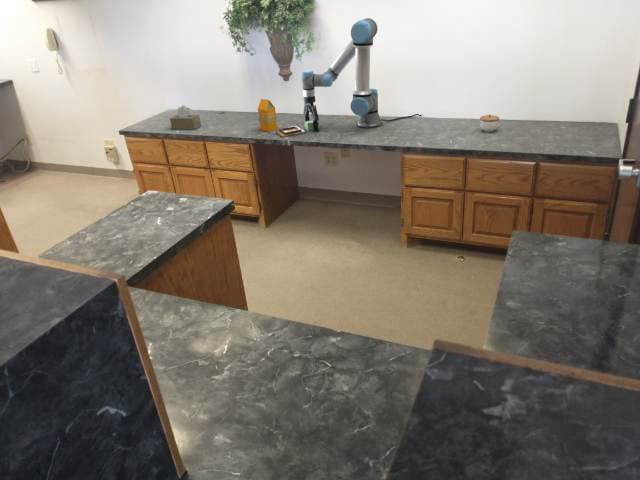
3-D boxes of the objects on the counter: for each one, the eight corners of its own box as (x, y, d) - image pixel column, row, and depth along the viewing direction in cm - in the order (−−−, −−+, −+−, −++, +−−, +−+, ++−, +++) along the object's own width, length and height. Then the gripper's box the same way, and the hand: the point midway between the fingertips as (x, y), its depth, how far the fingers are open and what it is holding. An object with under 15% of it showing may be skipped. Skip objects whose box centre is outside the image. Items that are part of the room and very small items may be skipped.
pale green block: (316, 126, 338) (315, 119, 336) (319, 128, 333) (319, 121, 331) (304, 129, 336) (304, 121, 333) (308, 131, 331) (307, 123, 328)
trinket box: (488, 134, 295) (489, 118, 291) (475, 130, 304) (476, 114, 299) (502, 130, 299) (503, 114, 295) (488, 126, 308) (490, 111, 304)
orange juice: (269, 127, 347) (265, 97, 337) (277, 129, 341) (274, 98, 332) (260, 130, 342) (256, 100, 333) (268, 132, 336) (264, 101, 327)
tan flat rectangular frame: (298, 128, 338) (298, 124, 337) (305, 132, 328) (305, 128, 327) (275, 133, 333) (275, 129, 332) (282, 137, 323) (281, 133, 322)
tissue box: (201, 125, 364) (197, 103, 357) (194, 129, 356) (190, 107, 349) (178, 125, 370) (174, 103, 363) (171, 129, 362) (166, 107, 354)
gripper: (296, 93, 333) (299, 125, 343) (311, 100, 313) (314, 134, 323) (307, 91, 336) (309, 123, 346) (322, 98, 316) (324, 131, 325)
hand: (311, 128), depth 334 cm, fingers open, 13 cm apart
